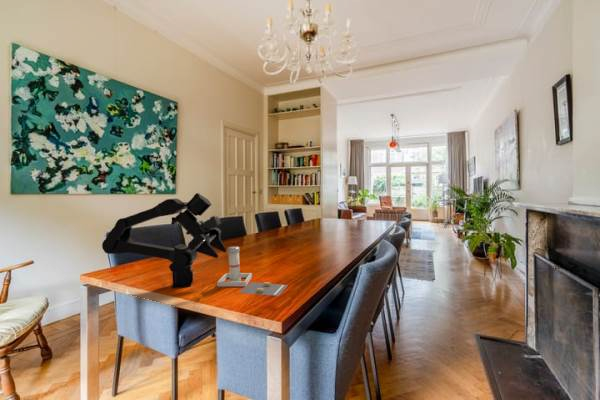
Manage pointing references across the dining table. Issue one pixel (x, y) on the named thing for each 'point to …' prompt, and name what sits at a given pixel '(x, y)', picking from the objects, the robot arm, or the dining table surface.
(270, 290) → the panel
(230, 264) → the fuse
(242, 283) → the parts tray
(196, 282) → the dining table surface
